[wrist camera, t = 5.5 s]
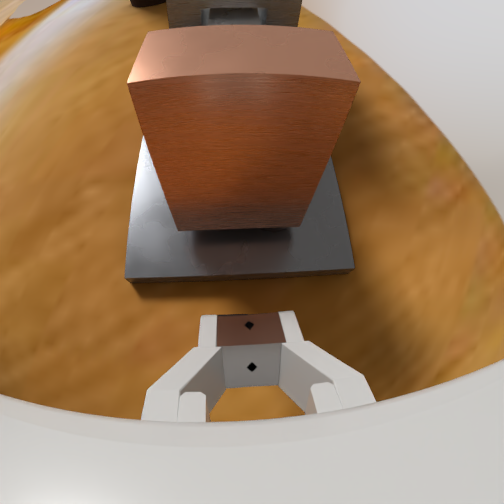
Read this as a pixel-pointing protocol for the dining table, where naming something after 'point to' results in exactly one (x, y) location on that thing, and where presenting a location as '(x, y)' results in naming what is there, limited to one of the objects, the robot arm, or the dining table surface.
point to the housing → (233, 240)
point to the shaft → (240, 117)
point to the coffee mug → (145, 2)
